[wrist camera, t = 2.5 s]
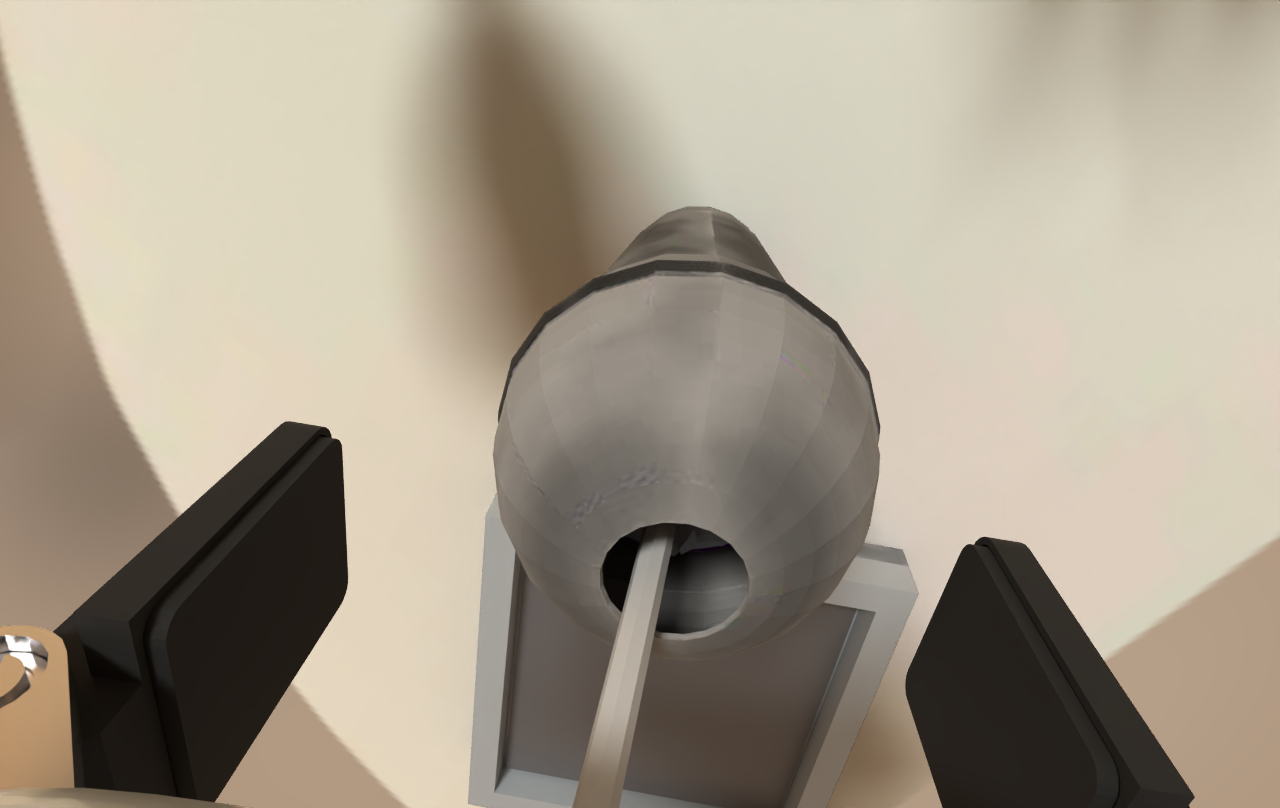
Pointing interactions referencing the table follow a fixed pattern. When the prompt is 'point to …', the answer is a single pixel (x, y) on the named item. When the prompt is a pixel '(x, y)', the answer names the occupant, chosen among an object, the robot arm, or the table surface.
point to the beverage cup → (683, 461)
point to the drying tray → (679, 697)
